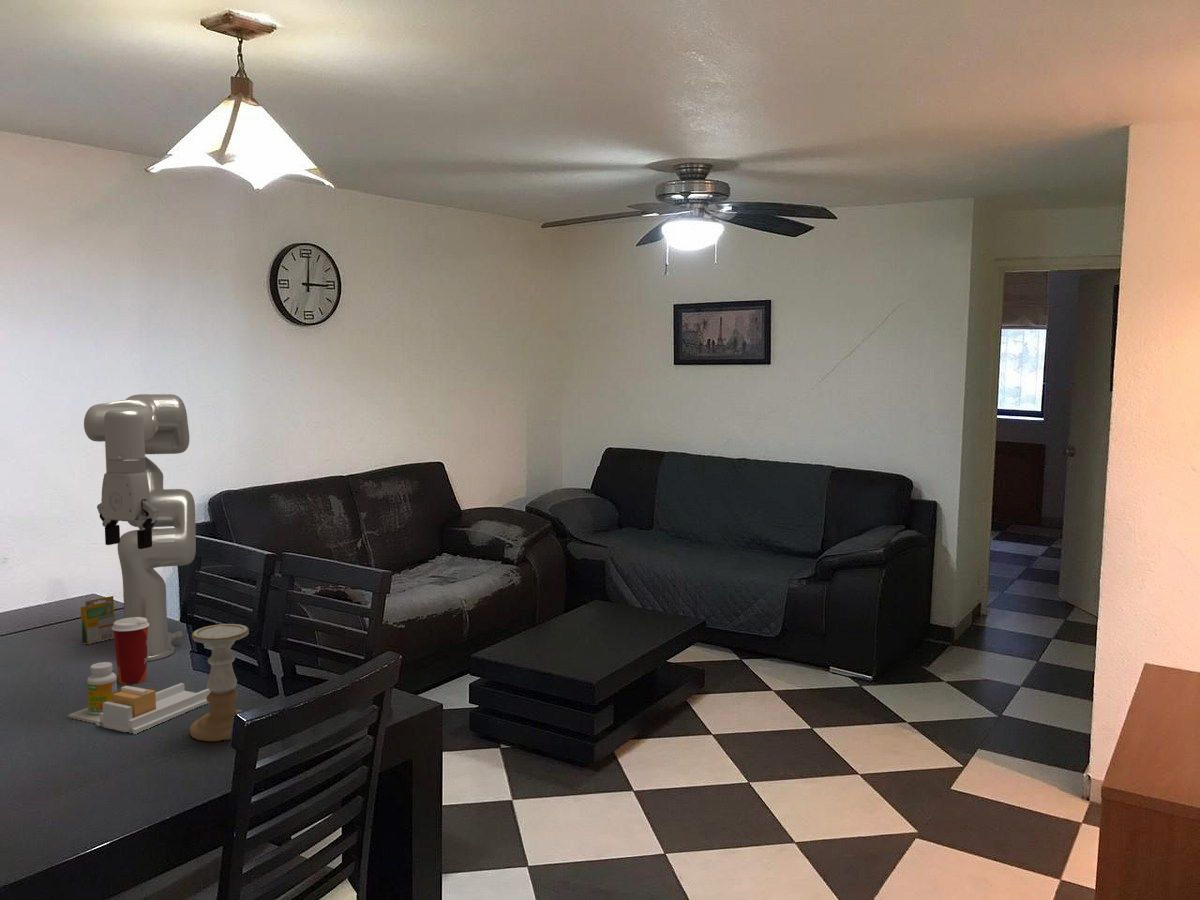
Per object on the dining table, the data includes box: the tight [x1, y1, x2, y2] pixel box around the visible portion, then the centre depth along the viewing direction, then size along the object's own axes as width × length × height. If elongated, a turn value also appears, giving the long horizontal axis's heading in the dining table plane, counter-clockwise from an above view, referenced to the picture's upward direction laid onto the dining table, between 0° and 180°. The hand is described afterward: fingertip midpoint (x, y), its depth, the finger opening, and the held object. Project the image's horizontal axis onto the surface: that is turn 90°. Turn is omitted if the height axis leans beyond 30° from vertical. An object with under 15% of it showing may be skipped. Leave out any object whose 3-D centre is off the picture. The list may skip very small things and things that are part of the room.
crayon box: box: [80, 595, 116, 645], centre depth 240 cm, size 7×3×12 cm, turn 144°
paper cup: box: [112, 617, 149, 686], centre depth 210 cm, size 8×8×14 cm
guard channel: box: [95, 682, 211, 735], centre depth 191 cm, size 20×11×5 cm, turn 157°
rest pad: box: [67, 707, 100, 725], centre depth 190 cm, size 9×9×1 cm
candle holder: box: [188, 623, 250, 742], centre depth 181 cm, size 12×12×20 cm
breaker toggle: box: [113, 685, 157, 718], centre depth 185 cm, size 5×6×6 cm
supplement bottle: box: [86, 661, 118, 715], centre depth 190 cm, size 5×5×10 cm
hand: (128, 546), depth 198 cm, fingers open, 9 cm apart
